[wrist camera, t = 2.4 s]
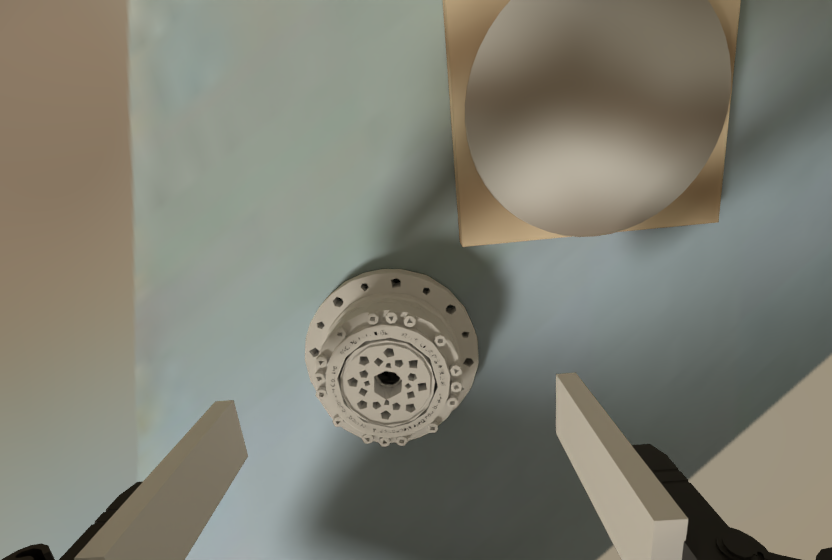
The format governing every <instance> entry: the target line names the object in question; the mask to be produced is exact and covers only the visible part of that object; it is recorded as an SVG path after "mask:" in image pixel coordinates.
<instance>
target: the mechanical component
mask: <svg viewBox="0 0 832 560" xmlns="http://www.w3.org/2000/svg"><path fill="white" fill-rule="evenodd" d="M395 278H398V279H399V280H400V281H401V282H400V283H395V282H394V281H393V279H395ZM365 284H367V285H368V286H366V285H365ZM424 288H428V289H426V290H425V289H424ZM338 297H339V298H341V299H342V300H343V301H340V300H338ZM448 305H453V307H452V308H447V306H448ZM305 362H306V365H307V369H308V373H309V377H310V380H311V382H312V384H313V386H314V387H315V389H316V391H317V392H316V397H317V398H318V399H319V400H320V402H321V403H322V405H323V406H324V408H325V409H326V411H327V412H328V414H329V415H330V417H331V418H333V423H334V425H335V427H342V428H344V429H345V430H347V431H349V432H351V433H353V434H354V435H356V436H358V437H360V438H362V440H363V442H364V443H366V444H369V443H371V442H372V441H375V442H378V443H379V444H380V445H381V446H383V447H387V446H388V445H390V443H397V444H398V445H400V446H404V445H405V444H406V443H407V442H408V441H410V440H413V439H416V438H419V437H422V436H424V435H426V434H428V433H436V431H437V430H438V426H439V425H440V424H441V423H442V422H443V421H444V420H445V419H446V418H448V416H449V414H450V413H451V412H452V411H453V410H454V409H456V408H457V407H458V406H459V404H460V403H461V402H462V400H463V399H464V397H465V396H466V395H467V393H468V392H469V390H470V389H471V387H472V384H473V381H474V377H475V374H476V371H477V367H478V364H479V362H478V341H477V336H476V333H475V330H474V327H473V325H472V322H471V320H470V318H469V316H468V313H467V311H466V309H465V307H464V306H463V305H462V304H461V303H460V301H459V300H458V299H457V298H456V297H455V296H454V295H453V294H452V292H451V291H450V290H449V289H448V288H446V287H444V286H443V285H441V284H440V283H438V282H437V281H435V280H434V279H432V278H431V277H429V276H427V275H424V274H420V273H415V272H411V271H407V270H403V269H380V270H375V271H370V272H365V273H363V274H360V275H358V276H356V277H354V278H352V279H350V280H347V281H345V282H344V283H343V284H342V285H340V286H339V287H338V288H337V289H336V290H335V291H334V292H332V293H331V294H330V295H329V296H328V297H327V298H326V299H325V301H324V302H323V303H322V304H321V306H320V307H319V309H318V310H317V312H316V314H315V316H314V317H313V319H312V321H311V323H310V326H309V329H308V333H307V336H306V345H305ZM384 371H389V372H388V376H385V375H382V374H380V373H382V372H384ZM395 373H396V374H397V375H398V376H394V374H395Z"/></svg>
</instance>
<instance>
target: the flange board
mask: <svg viewBox="0 0 832 560" xmlns="http://www.w3.org/2000/svg"><path fill="white" fill-rule="evenodd" d="M740 3H741V0H443V11H444V25H445V40H446V54H447V68H448V82H449V96H450V110H451V125H452V139H453V153H454V167H455V181H456V196H457V210H458V224H459V238H460V243H461V245H462V246H463V247H467V246H477V245H487V244H498V243H508V242H519V241H529V240H539V239H550V238H560V237H570V236H575V237H590V236H600V235H606V234H611V233H615V232H622V231H633V230H643V229H653V228H664V227H674V226H684V225H695V224H705V223H716V222H718V221H719V211H720V201H721V191H722V181H723V171H724V161H725V152H726V142H727V132H728V122H729V112H730V102H731V92H732V82H733V72H734V62H735V52H736V42H737V32H738V22H739V12H740Z"/></svg>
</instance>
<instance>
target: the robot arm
mask: <svg viewBox="0 0 832 560" xmlns="http://www.w3.org/2000/svg"><path fill="white" fill-rule="evenodd" d="M556 434H557V436H558V438H559V440H560V442H561V444H562V446H563V448H564V450H565V451H566V453H567V455H568V457H569V459H570V461H571V463H572V465H573V467H574V469H575V471H576V473H577V475H578V477H579V479H580V481H581V482H582V484H583V486H584V488H585V490H586V492H587V494H588V496H589V498H590V500H591V502H592V504H593V506H594V508H595V510H596V512H597V513H598V515H599V517H600V519H601V521H602V523H603V525H604V527H605V529H606V531H607V533H608V535H609V537H610V539H611V541H612V543H613V544H614V546H615V548H616V550H617V552H618V554H619V556H620V558H621V560H801V559H796V558H791V557H787V556H782V555H778V554H774V553H771V552H768V551H767V549H766V548H765V547H764V546H763V545H761V544H760V543H759V542H758V541H757V540H755V539H754V538H753V537H751V536H749V535H747V534H745V533H743V532H741V531H740V530H737V529H734V528H730V527H728V526H727V524H726V523H725V522H724V521H723V520H722V519H721V517H720V516H719V515H718V514H717V513H716V512H715V511H714V509H713V508H712V507H711V506H710V505H709V504H708V502H707V501H706V500H705V499H704V498H703V497H702V496H701V494H700V493H699V492H698V491H697V490H696V489H695V488H694V486H693V485H692V484H691V483H689V482H688V479H687V478H686V477H685V476H684V475H683V474H682V472H681V471H679V470H678V468H677V467H676V466H675V464H674V463H673V462H672V461H671V460H670V459H669V457H668V456H667V455H666V454H664V453H663V452H661V451H660V450H658V449H657V448H655V447H654V446H652V445H651V444H642V445H631V444H630V443H629V441H628V440H627V439H626V437H625V436H624V435H623V433H622V432H621V431H620V430H619V428H618V427H617V426H616V424H615V423H614V422H613V421H612V419H611V418H610V417H609V415H608V414H607V413H606V411H605V410H604V409H603V408H602V406H601V405H600V404H599V402H598V401H597V400H596V398H595V397H594V396H593V395H592V393H591V392H590V391H589V389H588V388H587V387H586V385H585V384H584V383H583V382H582V380H581V379H580V378H579V376H578V375H577V374H576V373H564V374H556ZM247 457H248V454H247V450H246V446H245V442H244V438H243V435H242V431H241V427H240V423H239V419H238V415H237V412H236V408H235V404H234V400H228V401H216V402H215V403H214V404H213V405H212V406H211V407H210V408H209V409H208V410H207V411H206V412H205V414H204V415H203V416H202V417H201V418H200V419H199V420H198V421H197V422H196V424H195V425H194V426H193V427H192V428H191V429H190V430H189V431H188V432H187V434H186V435H185V436H184V437H183V438H182V439H181V440H180V441H179V442H178V444H177V445H176V446H175V447H174V448H173V449H172V450H171V451H170V452H169V454H168V455H167V456H166V457H165V458H164V459H163V460H162V461H161V462H160V464H159V465H158V466H157V467H156V468H155V469H154V470H153V471H152V472H151V474H150V475H149V476H148V477H147V478H146V479H145V480H144V481H143V482H137V483H135V484H134V485H133V486H131V487H130V488H129V489H127V490H126V491H125V492H123V493H122V494H120V495H119V496H118V497H117V498H116V499H115V501H114V502H113V503H112V504H111V505H110V506H109V507H108V508H107V509H106V512H103V513H102V514H101V515H100V517H99V518H98V519H97V520H96V521H95V524H94V525H91V526H90V527H89V528H88V529H87V530H86V532H85V533H84V534H83V535H82V536H81V537H80V538H79V539H78V540H77V541H76V542H75V543H74V544H73V545H72V547H71V548H70V549H69V550H68V551H67V552H66V553H65V554H64V555H63V556H62V557H61V558H60V559H59V560H185V558H186V557H187V555H188V553H189V552H190V550H191V548H192V547H193V545H194V544H195V542H196V540H197V539H198V537H199V535H200V534H201V532H202V530H203V529H204V527H205V526H206V524H207V522H208V521H209V519H210V517H211V516H212V514H213V512H214V511H215V509H216V508H217V506H218V504H219V503H220V501H221V499H222V498H223V496H224V495H225V493H226V491H227V490H228V488H229V486H230V485H231V483H232V481H233V480H234V478H235V477H236V475H237V473H238V472H239V470H240V468H241V467H242V465H243V464H244V462H245V460H246V459H247ZM2 560H55V559H54V557H53V555H52V553H51V551H50V549H49V546H48V545H44V544H37V545H30V546H28V547H25V548H23V549H20V550H18V551H16V552H14V553H12V554H10V555H9V556H7V557H5V558H3V559H2ZM816 560H832V548H826V549H822V550H821V551H820V552H819V553H818V555H817V556H816Z"/></svg>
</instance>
